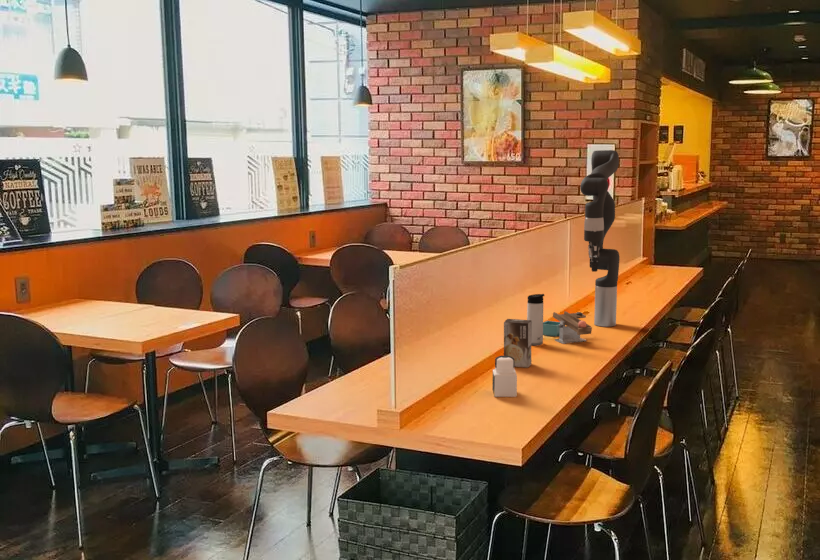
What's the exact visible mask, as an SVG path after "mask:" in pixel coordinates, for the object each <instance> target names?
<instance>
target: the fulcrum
mask: <svg viewBox="0 0 820 560" xmlns="http://www.w3.org/2000/svg"><path fill="white" fill-rule="evenodd" d="M559 322H560V324H559V328H560V335H559V336H558V337H559V338H555V339H554V342H557V343H559V344H562V345H564V344H573V343H574V342H575V343H583V341H584V342H587V339H586V338H582V337H581V335H577V332H576V331H574V330H573V329H571V328H569V327H568V326H566V325H565V321H562V320H560V321H559Z"/></svg>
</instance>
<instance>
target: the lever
mask: <svg viewBox="0 0 820 560" xmlns="http://www.w3.org/2000/svg"><path fill="white" fill-rule="evenodd" d="M552 318H554V319H555V320H556V321H557V322H560V320H562V321H565V326H568V327H569V328H571V329H573V330H574V331H576V332H577V335H580V336H582V335H592V330H593V327H592V326H591V325H590V324H588V323H586V327H583V328H580V327H579V326H578V323H579V322H580V321H582V319H585V318H587V316H586V314H584V313H583V312H579V311H578V312H572V313H569V312H568V311H566V310H565V311H564V312H563V314H559V313H557V312H555V311H554V312H553V313H552Z"/></svg>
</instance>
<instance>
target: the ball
mask: <svg viewBox="0 0 820 560" xmlns="http://www.w3.org/2000/svg"><path fill="white" fill-rule="evenodd" d="M586 324H587V322H586V321H585V320H581V321H580V322H579V323H578V326H579V327H580V328H583V327H586Z"/></svg>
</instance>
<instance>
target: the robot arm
mask: <svg viewBox="0 0 820 560" xmlns="http://www.w3.org/2000/svg"><path fill="white" fill-rule="evenodd" d="M590 161H591V172H590V174H588V175H586V176H585V177H584V178H583V179H582V180H581V182H580V185H579V186H580V187H579V188H580V192H581V194H583V195H584V196H585V197H586V196H587V197H592V201H589V202H586V203H585V206H584V221H583V222H584V225H583V241H585V242H588V247H587V249H588V250H587V252H588V259H589V268H591V272H595V273H596V272H598V270H601V271H607V273H606V275H604V276H602V277H597V278H596V279H595V287H594V319H593V320H594V321H593V324H594V326H598V327H607V328H608V327H615V326H616V325H617V306H618V305H617V301H618V299H617V298H618V280H619V272H620V271H619V270H620V269H619V268H620V260H621V259H620V253H619V251H618V250H617V249H613V248H604V240H605V237H606V235H607V233H608V232H609V230H610V229H611V227H612V225H613V223H614V221H615V219H616V203H615V201H614V198H613V197H612V195H611V194H610V192H609V191H608V190H609V186H610V185H609V182H608V180H609V178H610V177H611V176H612V175H613V174H615V173H616V172H617V171H618V168H619V166H620V158H619V153H618V151H616V150H612V149H610V150H605V149H603V150H594V151H592V153H591V160H590Z"/></svg>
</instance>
